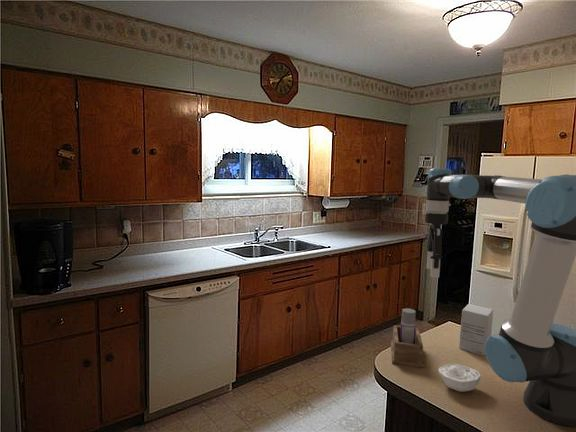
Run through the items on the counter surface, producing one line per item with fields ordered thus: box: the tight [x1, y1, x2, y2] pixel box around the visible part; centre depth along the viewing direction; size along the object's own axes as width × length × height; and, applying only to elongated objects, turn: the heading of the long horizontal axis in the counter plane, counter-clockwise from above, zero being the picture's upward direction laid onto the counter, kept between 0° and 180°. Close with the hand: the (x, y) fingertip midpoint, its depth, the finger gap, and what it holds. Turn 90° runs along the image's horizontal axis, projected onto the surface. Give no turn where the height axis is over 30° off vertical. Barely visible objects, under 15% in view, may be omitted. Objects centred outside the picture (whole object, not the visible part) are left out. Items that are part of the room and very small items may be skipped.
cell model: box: [438, 363, 482, 393], centre depth 113 cm, size 10×12×7 cm
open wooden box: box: [390, 324, 425, 369], centre depth 133 cm, size 16×10×7 cm, turn 166°
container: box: [400, 307, 417, 344], centre depth 133 cm, size 5×5×15 cm
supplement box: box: [458, 303, 494, 357], centre depth 139 cm, size 9×9×15 cm
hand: (432, 272), depth 137 cm, fingers open, 11 cm apart
